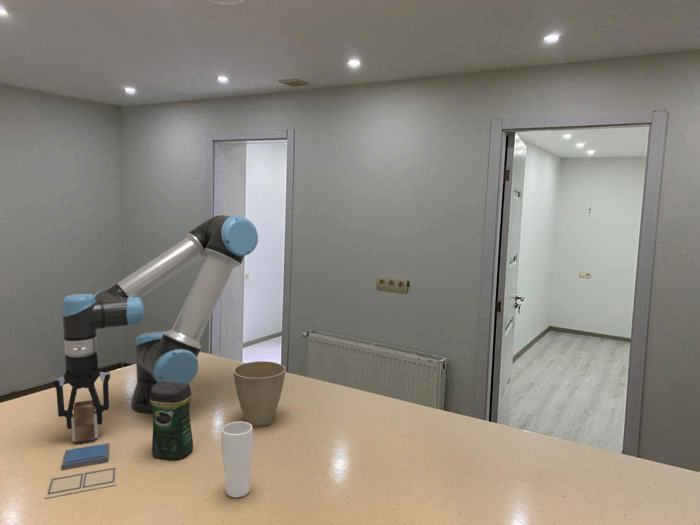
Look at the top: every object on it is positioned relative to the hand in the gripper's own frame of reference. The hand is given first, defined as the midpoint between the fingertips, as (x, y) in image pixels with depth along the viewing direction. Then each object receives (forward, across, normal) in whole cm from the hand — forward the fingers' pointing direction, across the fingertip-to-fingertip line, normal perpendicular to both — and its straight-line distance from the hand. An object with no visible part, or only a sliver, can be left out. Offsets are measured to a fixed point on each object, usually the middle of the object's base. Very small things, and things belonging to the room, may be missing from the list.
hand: (85, 437), depth 136 cm
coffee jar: (+1, +21, -16) cm, 26 cm away
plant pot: (+1, +46, -6) cm, 46 cm away
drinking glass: (+1, +33, -40) cm, 52 cm away
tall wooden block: (+1, 0, 0) cm, 1 cm away
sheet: (+1, +1, -22) cm, 23 cm away
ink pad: (+1, +1, -11) cm, 11 cm away
